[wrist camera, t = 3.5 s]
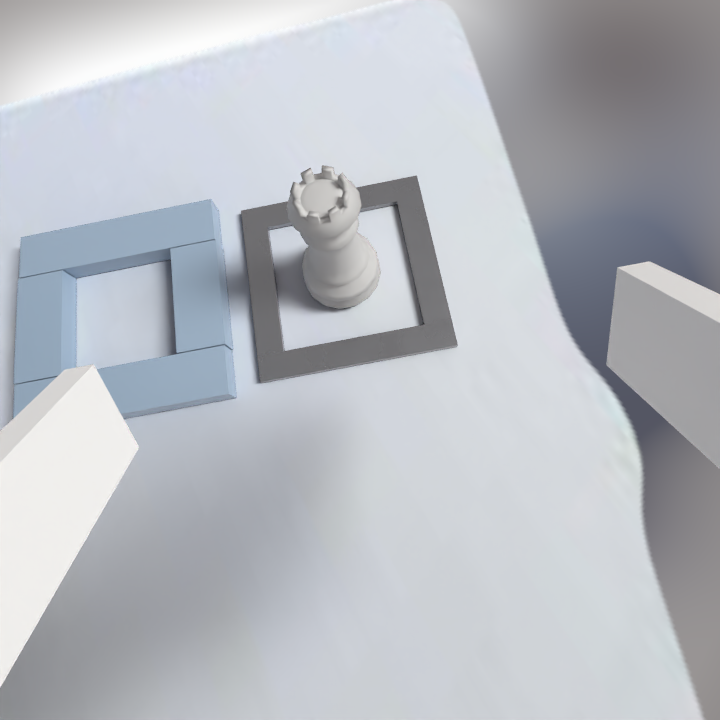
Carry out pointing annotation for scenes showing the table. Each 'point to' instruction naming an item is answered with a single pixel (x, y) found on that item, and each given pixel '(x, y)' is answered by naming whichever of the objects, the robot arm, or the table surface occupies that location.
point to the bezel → (360, 349)
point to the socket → (119, 251)
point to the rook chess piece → (333, 239)
